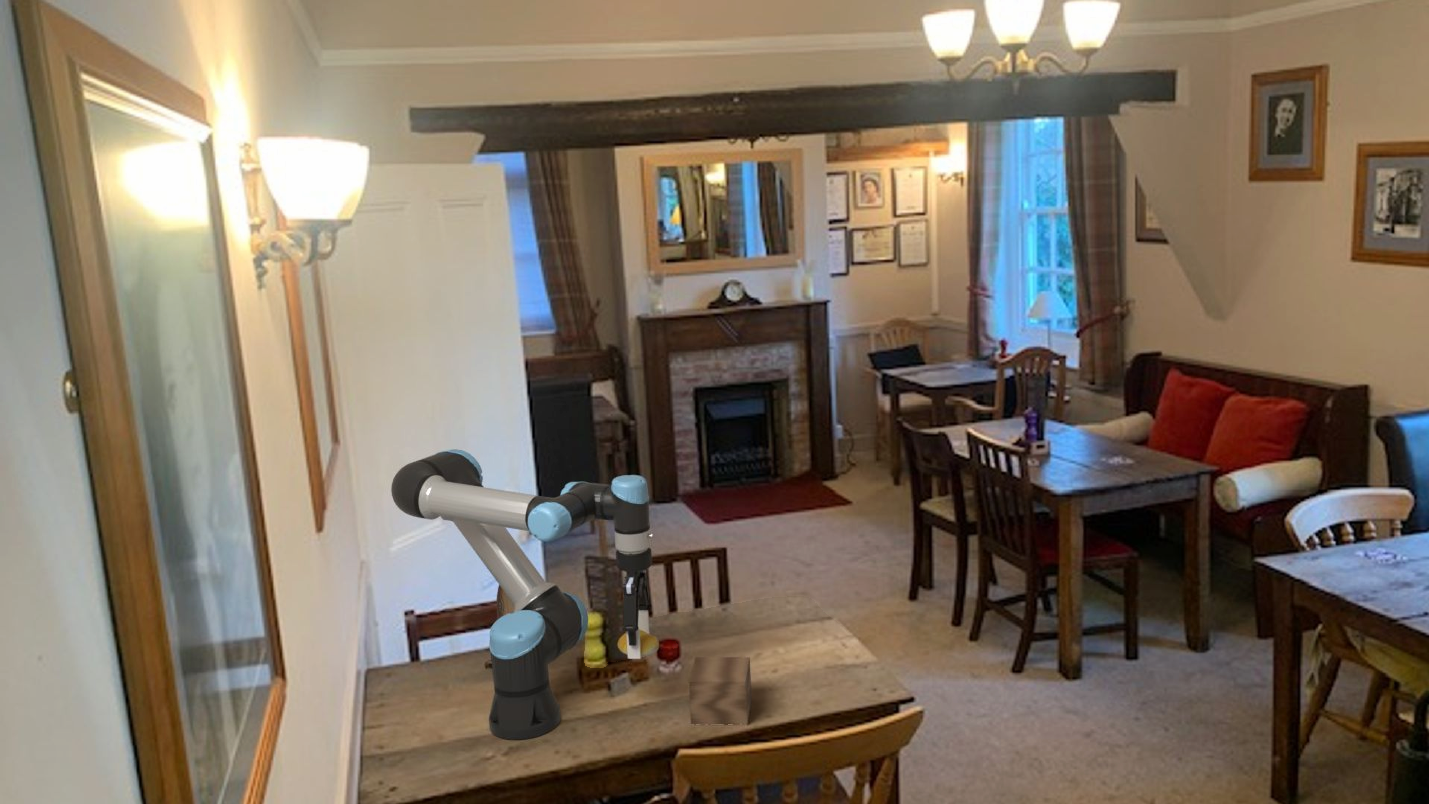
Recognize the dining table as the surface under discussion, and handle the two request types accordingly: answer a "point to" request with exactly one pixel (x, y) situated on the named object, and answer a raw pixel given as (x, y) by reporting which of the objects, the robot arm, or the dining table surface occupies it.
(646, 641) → the bread roll
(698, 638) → the dining table surface
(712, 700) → the walnut block
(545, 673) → the robot arm
